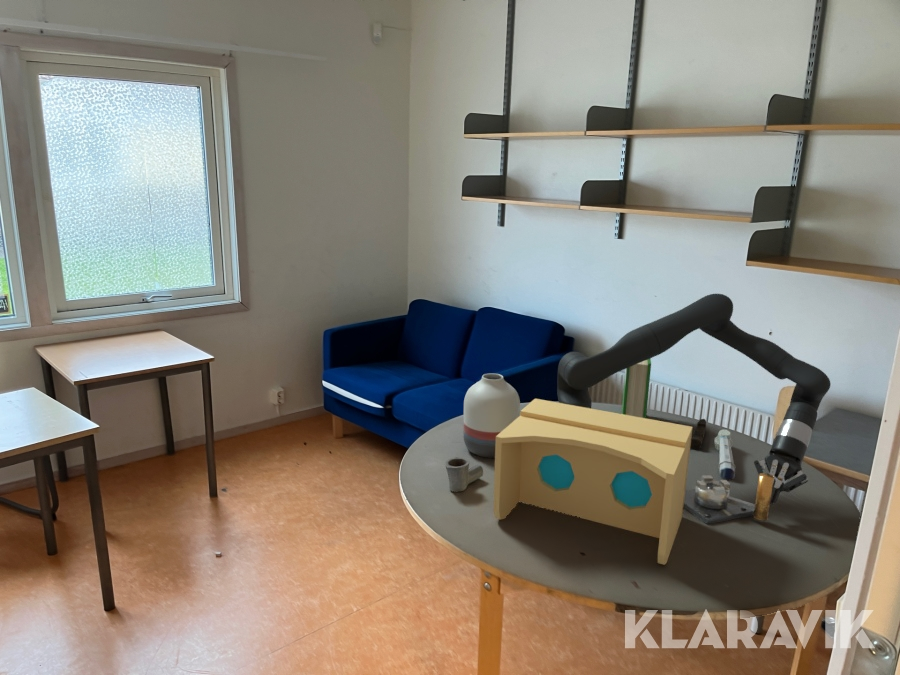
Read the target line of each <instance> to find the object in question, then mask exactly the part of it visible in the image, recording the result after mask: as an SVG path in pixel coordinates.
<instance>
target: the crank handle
mask: <svg viewBox="0 0 900 675" xmlns="http://www.w3.org/2000/svg"><path fill="white" fill-rule="evenodd" d="M773 480H774V476H772V475H770V473H767V472H763V473H760V474H758V481H757V487H756V488H757V489H756V494H755V501H754V503H752V502H749V501H746V500H742V499H740V498H736V497H733V496H731V495H730V491H731V490H730V489H731V483H730V482H729V481H728V480H727V479H720V480H715V479H714V477H713V476H712V475H711V474H710V475H707V474H706V475H705V474H704V475H701V478H700V480H696V481H695V488H694V489H695V497H694V499H695V501H696V502H697V503H699V504H700V505H702V506H705V507H708V508H713V509H721V508H725V507H727V505H728V503H730V504H733V505H736V506H739V507H742V508H745V509H748V510H752V511H753V515H752V516H753V518H755V520H756V519H757V520H759V521H768V518H769V513H770V508H771V507H770V506H771V504H770V500H771V494H772V487H773ZM730 496H731V497H730Z"/></svg>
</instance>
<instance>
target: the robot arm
mask: <svg viewBox="0 0 900 675" xmlns="http://www.w3.org/2000/svg"><path fill="white" fill-rule="evenodd" d="M733 312H734V303H733V300H732V299H731V298H730V297H729V296H727V294H726V295H725V294H722V293H710V294H708V295H705V296H703V297H700V298H699V299H697V300H696V301H693V302H692V303H691V304H689V305H687V306H684V307H683V308H682V309H679V310H677V311H675V312H673V313H669V314H668V315H665V316H663V317H661V318H659V319H656V320H654V321H652V322H648V323H647V324H644V325H641V326H639V327H637V328H634V329H632V330H630V331H628V332H627V333H626V334H624V335H623V336H622V337H621V338H620V339H619V340H618V341H617V342H615V344H613V345H612V346H611V347H609V348H608V349H606V350H603V351H601V352H599V353H596V354H594V355H591V356H586V355H585V354H583V353H582V352H578V351H569V352H567V353H566V354H564V355H563V356H562V357H561V359H560V360H559V363H558V367H557V382H556V384H557V385H556V386H557V387H556V388H557V389H556V392H557V394H556V395H557V399H558V403H563V404H568V405H574V406H579V407H585V408H590V409H592V405H593V404H592V399H591V396H590V391H589V388H592V387H593V386H595V385H597V384H598V383H600V382H603V381H604V380H606V379H607V378H610V377H611V376H613V375H615V374H617V373H619V372H621V371H623V370H625V369H626V368H629V367H631V366H633V365H635V364H638V363H640V362H643V361H645V360H648V359H650V358H651V359H653V358H654V357H657V356H659V355H661V354H663V353H665V352H667V351H668V350H669V349H671V348H672V347H674V346H675V345H676V344H678V343H679V342H680V341H681V340H682V339H684V338H685V337H686V336H688V335H689V334H691V333H693V332H694V331H697V330H698V329H699V330H700V331H702V332H703V333H704V334H706V335H708V336H710V337H711V338H714V339H716V340H718V341H719V342H721V343H723V344H725V345H727V346H728V347H730V348H732V349H734V350H736V351H738V352H739V353H741V354H742V355H744V356H746V357H747V358H749V359H751V360H752V361H753V362H755V363H756V364H758V365H759V366H760V367H762V368H763V369H764V370H765V371H767V372H768V373H769V374H771V375H772V376H774V377H775V378H777V379H778V380H781V381H782V380H786V379H787V380H789V381H791V382H793V383H795V386H794V388H793V391H792V394H791V397H790V402H789V406H788V407H787V409H786V412H785V415H784V417H783V419H782V422H781V424H780V425H779V427H778V429H777V431H776V434H775V437H774V438H773V439H774V440H773V443H772V444H771V447H770V450H769V453H768V454H767V455H766V456H765V457H764V459H762V460H754V461H753V465H754V467H755V469H756V471H757V474H758V475H759V474H760V473H764V470H765V469H766V467H767V471H768V472H769V473H768V474H770V475H772V476H774V480H773V487H772V494H771V500H770V506H773V505H774V504H777V503H778V499H779V496H780V494H781V493H782V492H786V493H790V492H792V491H793V490H795V489H797V488H799V487H801V486H803V485H804V484H806V483H808V481H809V480H808V476H807V474H805V473H804V472H803V471H802V470H803V468H802V464H803V461H804V459H805V455H806V453H807V450H808V447H809V444H810V442H811V440H812V434H813V433H812V432H813V430H814V428H815V424H816V422H817V418H818V410H819V407H820V404H821V403H822V400H823V398H824V397H825V395H827V393H828V391H830V388H831V380H830V378H829V377H828V375H827V374H826V373H825V372H824V371H823V370H822V369H820V368H818V367H816V366H814V365H813V364H810V363H808V362H806V361H804V360H801V359H798V358H796V357H794V356H793V355H792V354H791V353H790V352H788V351H786V350H785V349H784V348H782V347H781V346H779V345H778V344H776V343H775V342H773V341H771V340H768V339H766V338H763V337H759V336H756V335H753V334H752V333H751V334H750V333H748V332H746V331H744V330H743V329H741V328H740V327H738V326H737V325H736V324H735V323H734V322H733V321H732V320H731V318H732V316H733ZM794 477H795V478H794ZM790 479H791V480H790ZM788 480H789V481H788Z"/></svg>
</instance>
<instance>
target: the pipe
mask: <svg viewBox="0 0 900 675" xmlns="http://www.w3.org/2000/svg"><path fill="white" fill-rule="evenodd" d="M444 467H445V469H446V472H447V476H448V487H449V490H450V491H451V490H452V491H451V492H453V491H460V492H463V491H465V490H467V487H468V485H470V484H471V483H474V482H475V481H477V480H478V479H480V478H482V477H484V476H483V475H484V469H483V467H482V465H479V464H475V465H473V466H472V467H470V461H469V459H467V458H463V457H453V458H450V459H447V460H446V461H445V464H444Z"/></svg>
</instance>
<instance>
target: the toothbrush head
mask: <svg viewBox="0 0 900 675" xmlns="http://www.w3.org/2000/svg"><path fill="white" fill-rule="evenodd" d="M733 445H734V440H733V439H732V434H731V431H730V430H728V429H720V430H719V431H718V433H717V436H716V437H714V449H716V450H717V451H718V450H719V451H718V452H719V462H718V468H717V469H718V471H719V476H720V477H721V478H722V480H729V479H731V480H732V479H735V476H736V475H735V474H736V473H735V472H736V466H737V465H736V464H734V463H735V462H734V457H733V452H732V447H733Z"/></svg>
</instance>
